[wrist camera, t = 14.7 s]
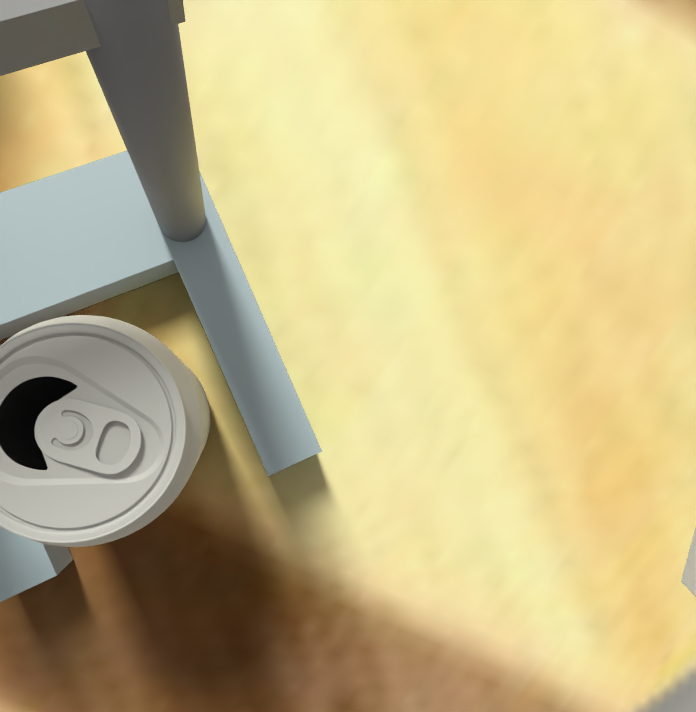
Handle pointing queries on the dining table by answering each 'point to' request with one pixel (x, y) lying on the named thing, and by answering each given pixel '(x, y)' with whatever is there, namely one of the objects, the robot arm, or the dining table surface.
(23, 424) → the beverage can
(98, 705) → the dining table surface
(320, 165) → the dining table surface
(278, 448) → the grey arch frame
